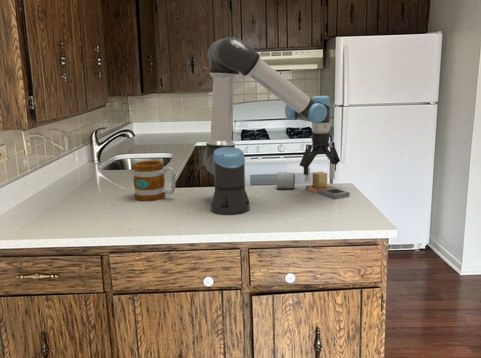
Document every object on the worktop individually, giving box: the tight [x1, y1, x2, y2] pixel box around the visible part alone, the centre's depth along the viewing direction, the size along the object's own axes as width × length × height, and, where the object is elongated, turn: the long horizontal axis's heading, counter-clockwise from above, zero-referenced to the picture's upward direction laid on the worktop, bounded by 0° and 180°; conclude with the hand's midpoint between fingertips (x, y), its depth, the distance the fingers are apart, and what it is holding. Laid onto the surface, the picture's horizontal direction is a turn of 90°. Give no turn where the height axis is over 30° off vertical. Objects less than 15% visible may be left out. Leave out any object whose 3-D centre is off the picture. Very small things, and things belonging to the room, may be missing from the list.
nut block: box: [312, 171, 328, 189], centre depth 205 cm, size 4×4×8 cm
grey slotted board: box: [305, 184, 351, 200], centre depth 202 cm, size 8×20×2 cm, turn 28°
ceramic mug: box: [276, 171, 296, 190], centre depth 213 cm, size 11×8×8 cm
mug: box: [131, 160, 176, 202], centre depth 199 cm, size 20×14×15 cm
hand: (319, 180), depth 205 cm, fingers open, 13 cm apart
